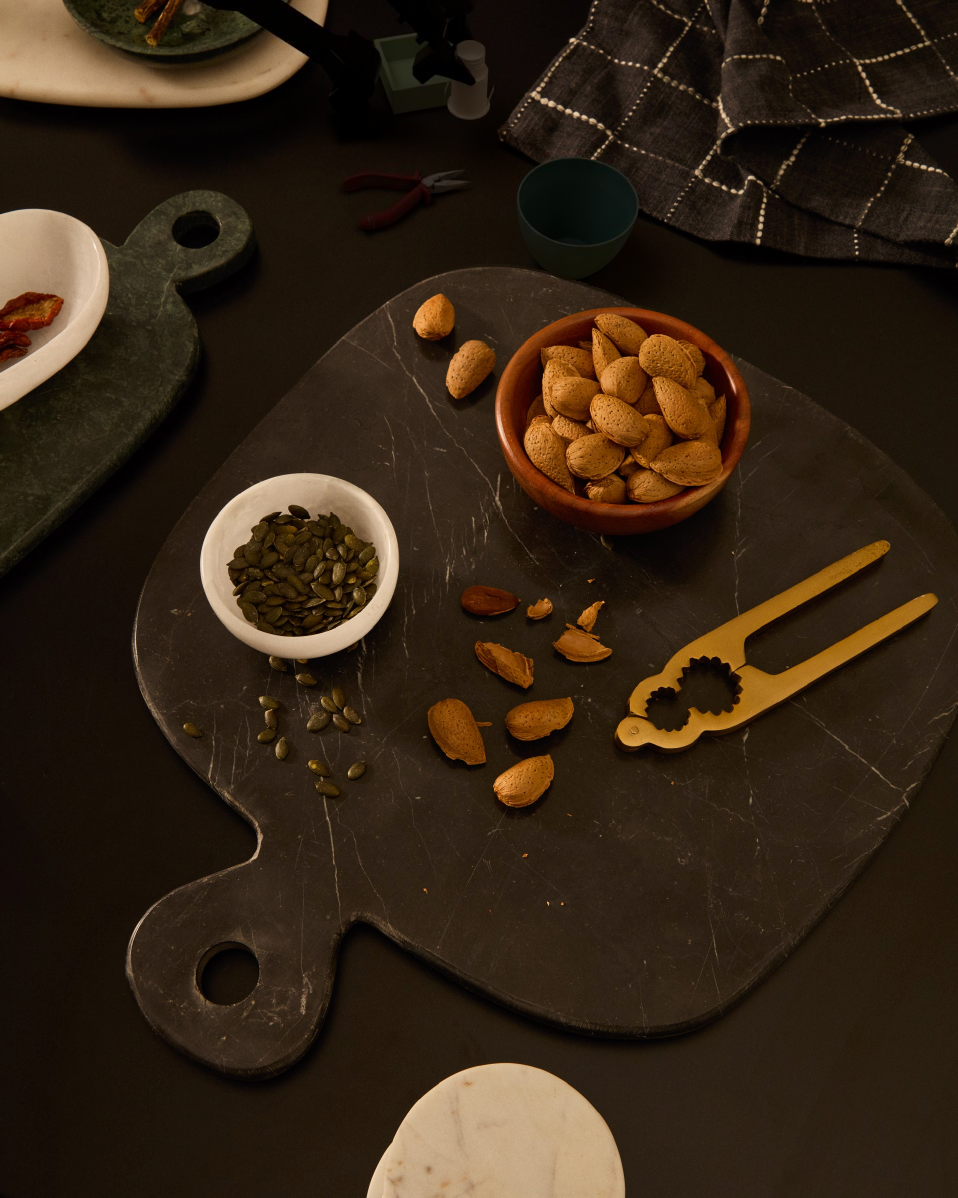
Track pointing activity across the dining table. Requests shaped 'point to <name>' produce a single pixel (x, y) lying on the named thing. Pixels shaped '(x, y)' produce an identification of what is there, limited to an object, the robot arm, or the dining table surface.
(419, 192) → the pliers
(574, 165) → the dark teal bowl
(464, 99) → the downlight
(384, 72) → the bin
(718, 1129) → the dining table surface
